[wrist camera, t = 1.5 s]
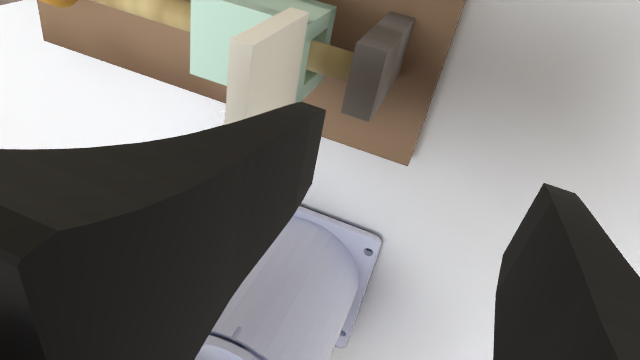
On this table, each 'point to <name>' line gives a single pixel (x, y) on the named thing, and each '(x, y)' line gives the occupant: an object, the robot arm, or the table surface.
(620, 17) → the table surface
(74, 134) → the table surface
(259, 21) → the green sliding block
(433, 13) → the brown plate
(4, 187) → the robot arm
